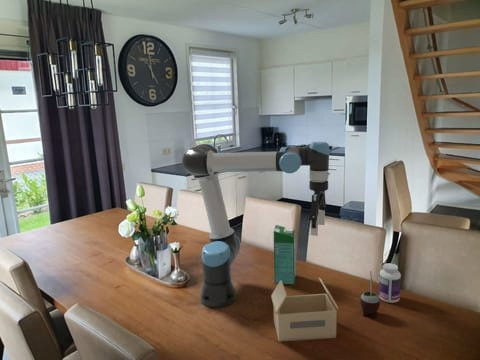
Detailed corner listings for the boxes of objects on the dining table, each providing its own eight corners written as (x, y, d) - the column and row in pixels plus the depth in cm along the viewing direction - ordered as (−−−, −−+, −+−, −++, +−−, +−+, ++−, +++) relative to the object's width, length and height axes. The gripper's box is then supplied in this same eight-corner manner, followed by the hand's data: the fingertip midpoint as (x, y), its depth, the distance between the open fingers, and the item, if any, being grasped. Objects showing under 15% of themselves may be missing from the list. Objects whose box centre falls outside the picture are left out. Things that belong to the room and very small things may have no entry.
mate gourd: (369, 321, 133) (370, 284, 130) (354, 310, 140) (355, 275, 137) (384, 315, 136) (386, 279, 133) (369, 305, 143) (370, 270, 140)
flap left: (272, 296, 133) (281, 280, 131) (276, 313, 122) (287, 295, 121) (270, 296, 133) (280, 279, 131) (275, 312, 122) (285, 295, 121)
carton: (278, 341, 124) (278, 315, 122) (273, 321, 135) (273, 297, 133) (336, 337, 124) (336, 311, 122) (326, 317, 136) (326, 293, 134)
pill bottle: (399, 295, 150) (400, 263, 147) (400, 305, 142) (402, 271, 139) (378, 292, 152) (379, 260, 149) (378, 302, 145) (380, 269, 142)
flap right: (337, 309, 123) (327, 293, 121) (328, 293, 134) (318, 278, 132) (339, 308, 123) (328, 292, 121) (329, 292, 133) (319, 277, 132)
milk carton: (294, 284, 162) (294, 231, 157) (274, 283, 164) (273, 231, 158) (295, 275, 171) (295, 225, 165) (276, 274, 172) (275, 224, 167)
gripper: (321, 187, 133) (320, 241, 138) (333, 174, 155) (332, 221, 160) (301, 186, 136) (301, 238, 141) (316, 173, 158) (315, 219, 163)
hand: (317, 229), depth 150 cm, fingers open, 13 cm apart
